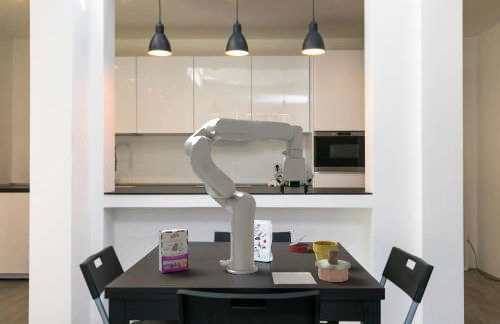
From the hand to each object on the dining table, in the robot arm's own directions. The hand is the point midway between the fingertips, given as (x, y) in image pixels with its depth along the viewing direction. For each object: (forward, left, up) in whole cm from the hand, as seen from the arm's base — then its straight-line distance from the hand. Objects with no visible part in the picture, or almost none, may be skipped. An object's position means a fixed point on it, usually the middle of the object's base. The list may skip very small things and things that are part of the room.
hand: (293, 194), depth 168 cm
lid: (+12, -22, -25) cm, 35 cm away
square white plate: (-3, -22, -30) cm, 37 cm away
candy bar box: (-50, -9, -31) cm, 59 cm away
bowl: (+12, -22, -30) cm, 39 cm away
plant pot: (+13, -3, -31) cm, 33 cm away
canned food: (+6, +28, -31) cm, 42 cm away
